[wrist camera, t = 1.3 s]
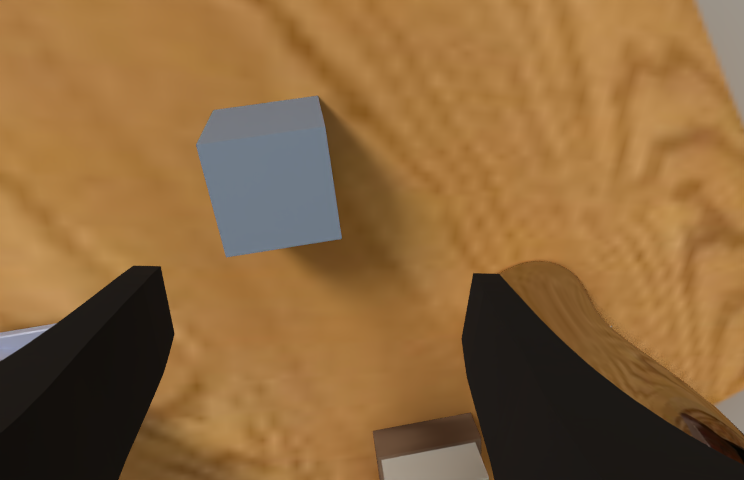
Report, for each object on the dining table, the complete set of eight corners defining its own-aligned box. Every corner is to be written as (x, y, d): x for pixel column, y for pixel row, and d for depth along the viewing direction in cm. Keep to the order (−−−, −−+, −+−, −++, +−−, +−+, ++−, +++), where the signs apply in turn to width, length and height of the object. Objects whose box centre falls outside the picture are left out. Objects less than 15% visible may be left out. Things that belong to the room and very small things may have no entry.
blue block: (236, 205, 22) (226, 257, 18) (213, 109, 20) (196, 144, 16) (332, 190, 23) (341, 238, 19) (317, 95, 21) (324, 126, 17)
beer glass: (526, 385, 29) (725, 731, 16) (430, 332, 27) (572, 693, 13) (619, 293, 27) (932, 602, 14) (524, 226, 25) (800, 528, 11)
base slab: (381, 491, 32) (387, 525, 30) (371, 425, 30) (377, 457, 28) (470, 474, 33) (481, 506, 31) (468, 407, 30) (480, 438, 28)
